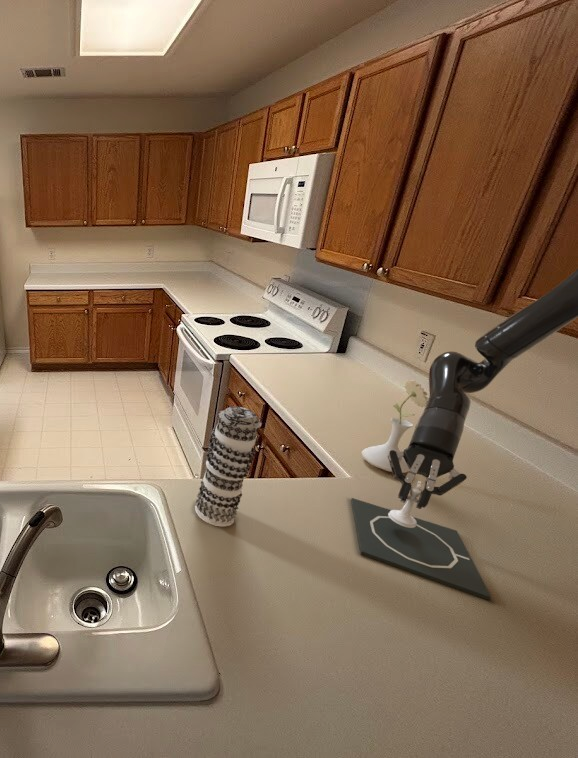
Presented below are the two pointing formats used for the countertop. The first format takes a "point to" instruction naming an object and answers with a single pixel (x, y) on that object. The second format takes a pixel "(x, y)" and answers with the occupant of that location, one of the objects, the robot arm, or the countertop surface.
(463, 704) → the countertop surface
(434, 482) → the robot arm
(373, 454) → the flower in vase
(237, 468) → the decorative candle
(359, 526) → the slate board
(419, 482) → the chess piece
